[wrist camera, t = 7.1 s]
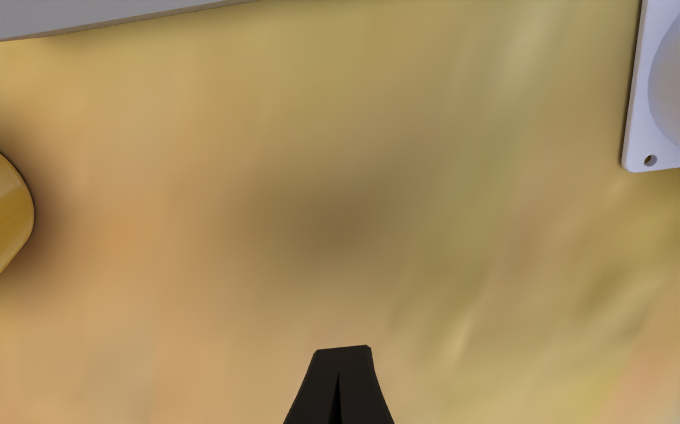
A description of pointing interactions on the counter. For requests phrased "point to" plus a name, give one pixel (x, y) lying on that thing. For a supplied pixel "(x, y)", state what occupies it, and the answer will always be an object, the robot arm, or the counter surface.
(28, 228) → the plant pot
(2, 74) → the counter surface
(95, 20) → the key panel
